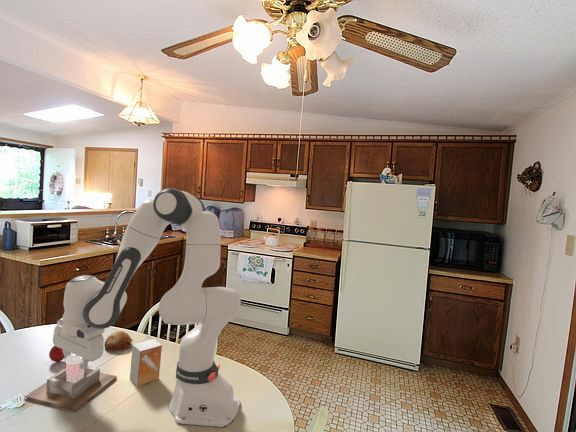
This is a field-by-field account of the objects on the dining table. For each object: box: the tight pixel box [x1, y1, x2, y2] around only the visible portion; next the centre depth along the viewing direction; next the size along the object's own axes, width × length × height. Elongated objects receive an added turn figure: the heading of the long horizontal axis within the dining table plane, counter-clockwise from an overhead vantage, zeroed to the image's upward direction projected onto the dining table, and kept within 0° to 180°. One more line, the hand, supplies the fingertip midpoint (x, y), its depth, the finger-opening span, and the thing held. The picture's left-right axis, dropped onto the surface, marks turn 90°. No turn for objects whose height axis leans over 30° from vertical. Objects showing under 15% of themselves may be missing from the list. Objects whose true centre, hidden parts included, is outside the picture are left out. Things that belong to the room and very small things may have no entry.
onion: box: [48, 345, 65, 363], centre depth 121 cm, size 6×6×8 cm
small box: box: [129, 338, 163, 388], centre depth 116 cm, size 8×6×13 cm
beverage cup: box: [64, 353, 85, 383], centre depth 107 cm, size 6×6×14 cm
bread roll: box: [104, 330, 134, 352], centre depth 137 cm, size 10×10×8 cm
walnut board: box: [24, 365, 117, 412], centre depth 107 cm, size 18×18×5 cm
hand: (75, 364), depth 107 cm, fingers closed on beverage cup, 6 cm apart
